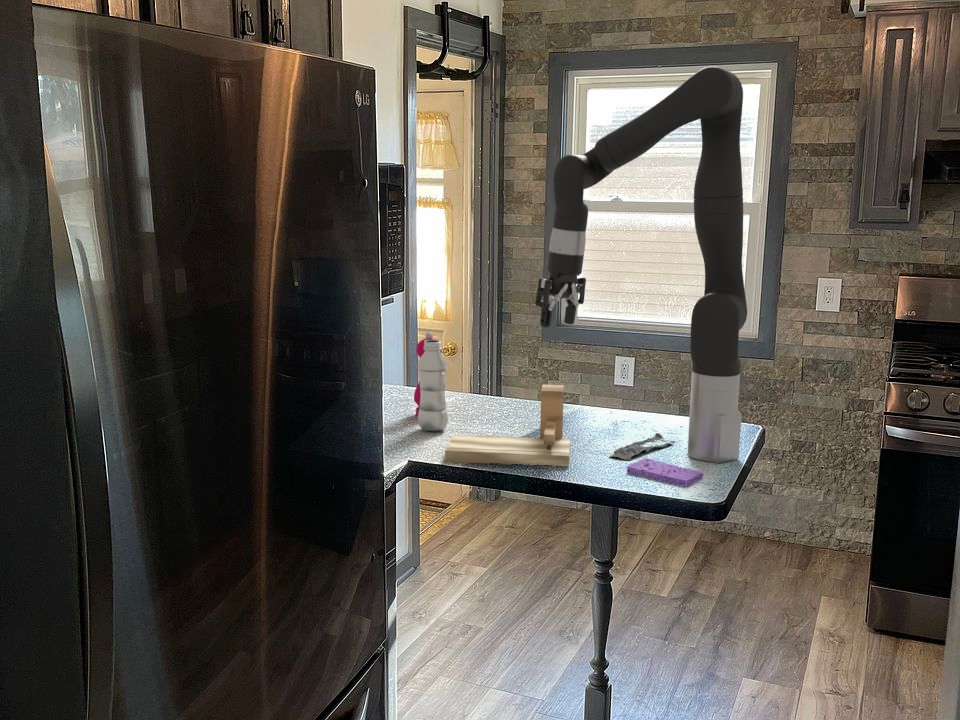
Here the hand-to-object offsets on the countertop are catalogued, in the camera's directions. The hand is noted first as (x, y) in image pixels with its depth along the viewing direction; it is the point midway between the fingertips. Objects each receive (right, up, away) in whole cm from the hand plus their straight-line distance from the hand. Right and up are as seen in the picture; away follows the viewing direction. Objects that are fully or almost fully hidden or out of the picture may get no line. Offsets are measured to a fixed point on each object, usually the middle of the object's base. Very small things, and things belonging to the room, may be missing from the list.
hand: (557, 325), depth 189 cm
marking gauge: (-3, -26, -12) cm, 29 cm away
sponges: (+18, -30, -26) cm, 43 cm away
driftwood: (+17, -27, -9) cm, 33 cm away
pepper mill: (-29, -21, +17) cm, 39 cm away
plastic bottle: (-27, -23, +4) cm, 36 cm away
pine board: (-11, -27, -15) cm, 32 cm away
